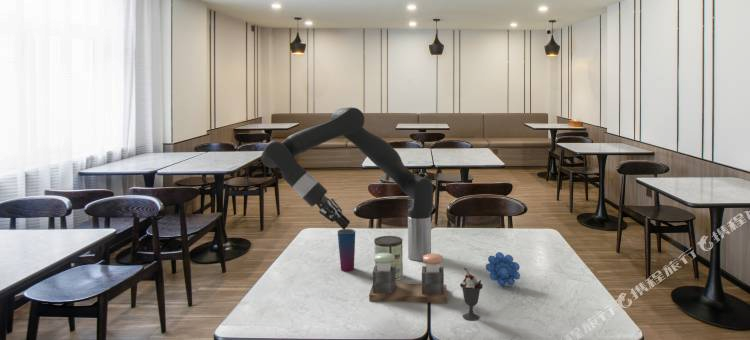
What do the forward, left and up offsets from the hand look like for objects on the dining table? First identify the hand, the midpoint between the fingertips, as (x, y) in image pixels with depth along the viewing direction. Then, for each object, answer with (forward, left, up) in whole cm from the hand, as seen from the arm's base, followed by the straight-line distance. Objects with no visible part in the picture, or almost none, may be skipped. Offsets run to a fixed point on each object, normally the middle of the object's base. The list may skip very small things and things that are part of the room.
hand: (347, 225), depth 173 cm
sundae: (+1, +42, -24) cm, 49 cm away
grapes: (-27, +45, -24) cm, 58 cm away
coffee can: (-20, +5, -24) cm, 32 cm away
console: (-7, +19, -24) cm, 31 cm away
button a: (-4, +11, -18) cm, 21 cm away
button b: (-10, +26, -18) cm, 33 cm away
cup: (-21, -13, -24) cm, 34 cm away
